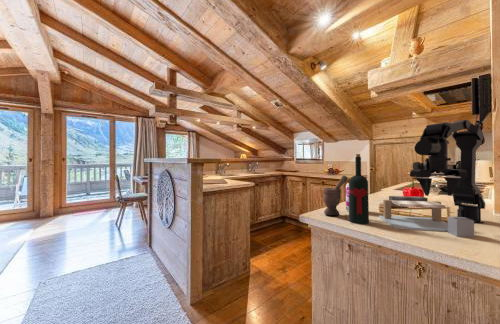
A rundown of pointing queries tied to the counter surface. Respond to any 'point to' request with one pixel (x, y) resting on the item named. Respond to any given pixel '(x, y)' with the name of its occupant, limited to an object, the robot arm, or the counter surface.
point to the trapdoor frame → (414, 220)
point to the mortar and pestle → (333, 197)
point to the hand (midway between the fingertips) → (438, 195)
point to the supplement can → (347, 197)
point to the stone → (461, 227)
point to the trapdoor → (413, 202)
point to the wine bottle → (358, 196)
